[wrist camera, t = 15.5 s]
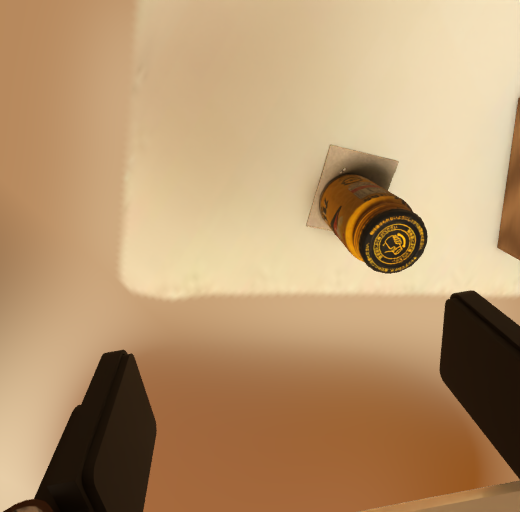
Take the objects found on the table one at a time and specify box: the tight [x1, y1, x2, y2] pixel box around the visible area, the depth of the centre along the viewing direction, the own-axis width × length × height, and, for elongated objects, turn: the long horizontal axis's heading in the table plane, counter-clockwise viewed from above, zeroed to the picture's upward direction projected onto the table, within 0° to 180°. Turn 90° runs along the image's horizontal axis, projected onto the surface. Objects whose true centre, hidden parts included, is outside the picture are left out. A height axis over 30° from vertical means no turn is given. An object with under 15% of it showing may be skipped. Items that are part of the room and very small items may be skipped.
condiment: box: [307, 145, 428, 274], centre depth 34 cm, size 7×8×12 cm
